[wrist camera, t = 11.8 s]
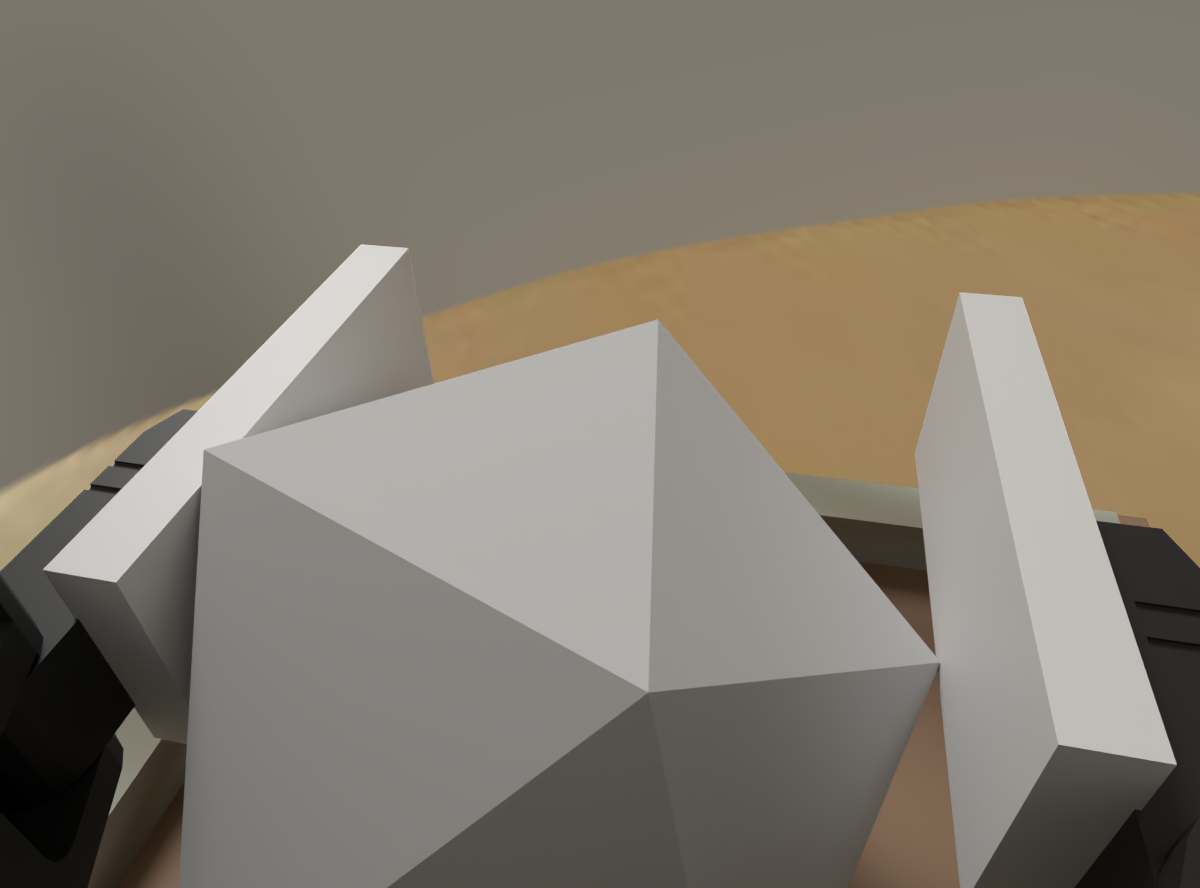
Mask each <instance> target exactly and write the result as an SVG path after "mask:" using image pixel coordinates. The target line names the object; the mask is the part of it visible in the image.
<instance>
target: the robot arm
mask: <svg viewBox="0 0 1200 888" xmlns="http://www.w3.org/2000/svg"><path fill="white" fill-rule="evenodd" d="M431 384H434V381H433V376H432V371H431V365H430V360H429V355H428V349H427V344H426V339H425V333H424V328H423V322H422V317H421V312H420V306H419V301H418V296H417V290H416V286H415V280H414V274H413V269H412V264H411V258H410V253H409V248H398V247H387V246H373V245H360V246H359V247H358V248H357V249H356V250H355V251H354V252H353V253H352V254H351V255H350V256H349V257H348V258H347V259H346V260H345V262H343V264H341V265H340V267H339V268H338V269H337V270H336V271H335V272H334V273H333V274H332V275H331V276H330V277H329V278H328V279H327V280H326V281H325V282H324V283H323V284H322V285H321V286H320V287H319V288H318V289H317V290H316V291H315V292H314V293H313V294H312V295H311V296H310V297H309V298H308V299H307V300H306V301H305V302H304V303H303V304H302V305H301V306H300V307H299V309H298V310H296V311H295V313H293V315H292V316H291V317H290V318H289V319H288V320H287V321H286V322H285V323H284V324H283V325H282V326H281V327H280V328H279V329H278V330H277V331H276V332H275V333H274V334H273V335H272V336H271V337H270V338H269V339H268V340H267V341H266V342H265V343H264V344H263V345H262V346H261V347H260V348H259V349H258V350H257V351H256V353H254V354H253V355H252V357H250V358H249V359H248V361H246V363H245V364H244V365H243V366H242V367H241V368H240V369H239V370H238V371H237V372H236V373H235V374H234V375H233V376H232V377H231V378H230V379H229V380H228V381H227V382H226V383H225V384H224V385H223V386H222V387H221V388H220V389H219V390H218V391H217V392H216V393H215V394H214V395H213V396H212V397H211V398H210V399H209V400H208V401H207V402H206V403H205V404H204V405H203V406H202V407H201V408H200V410H199V411H192V410H184V409H183V410H181V411H179V412H178V413H176V414H174V415H172V416H171V417H169V418H167V419H166V420H164V421H162V422H160V423H159V424H157V425H155V426H153V427H152V428H150V429H148V430H147V431H145V432H143V433H142V434H141V435H140V436H139V437H138V438H137V439H136V440H135V441H134V442H133V443H132V444H131V445H130V446H129V447H128V448H127V449H126V450H125V451H124V452H123V453H122V454H121V455H120V456H119V457H118V458H117V459H115V460H114V461H115V465H114V466H113V467H111V466H108V467H107V468H106V469H105V470H104V471H103V472H102V473H101V474H100V475H99V476H98V477H97V478H96V479H95V480H94V481H93V482H92V483H91V488H90V490H84V491H83V492H82V493H81V494H79V495H78V496H77V497H76V498H75V499H74V500H73V501H72V502H71V503H70V504H69V505H68V506H67V507H66V508H65V509H64V510H63V511H62V512H61V513H60V514H59V515H58V516H57V517H56V518H55V519H54V520H53V521H52V522H51V523H50V524H49V525H48V526H47V527H46V528H45V529H43V530H42V531H41V532H40V533H39V534H38V535H37V536H36V537H35V538H34V539H33V540H32V541H31V542H30V543H29V544H28V545H27V546H26V547H25V548H24V549H23V550H22V551H21V552H20V553H19V554H18V555H17V556H16V557H15V558H14V559H13V560H12V561H11V562H10V563H9V564H7V565H6V566H5V567H4V568H3V569H2V570H1V571H0V888H88V884H89V881H90V878H91V874H92V871H93V867H94V864H95V860H96V857H97V853H98V850H99V847H100V843H101V840H102V836H103V833H104V829H105V826H106V823H107V819H108V816H109V812H110V809H111V805H112V802H113V799H114V795H115V792H116V788H117V785H118V781H119V778H120V774H121V771H122V766H123V751H124V749H123V747H122V745H121V743H120V741H119V739H118V738H117V736H116V734H115V732H116V731H117V730H118V728H119V727H120V726H121V724H122V723H123V722H124V720H125V719H126V718H127V716H128V715H129V714H130V712H131V711H132V709H133V708H135V709H136V711H137V712H138V714H139V715H140V717H141V718H142V720H143V721H144V723H145V724H146V726H147V727H148V729H149V730H150V732H151V733H152V735H153V736H154V738H159V739H163V740H168V741H173V742H178V743H183V744H187V734H188V717H189V699H190V682H191V664H192V646H193V629H194V611H195V593H196V576H197V558H198V541H199V523H200V505H201V488H202V470H203V452H204V449H208V448H211V447H214V446H218V445H221V444H225V443H228V442H232V441H235V440H239V439H242V438H246V437H249V436H253V435H256V434H260V433H263V432H267V431H270V430H274V429H277V428H281V427H284V426H288V425H291V424H295V423H298V422H302V421H305V420H309V419H312V418H316V417H319V416H323V415H326V414H330V413H333V412H337V411H340V410H344V409H347V408H351V407H354V406H358V405H361V404H365V403H368V402H372V401H375V400H379V399H382V398H386V397H389V396H393V395H396V394H400V393H403V392H407V391H410V390H414V389H417V388H420V387H424V386H427V385H431ZM915 459H916V469H917V478H918V488H919V498H920V507H921V517H922V526H923V536H924V546H925V555H926V565H927V575H928V584H929V594H930V603H931V613H932V623H933V632H934V642H935V652H936V657H937V658H938V660H939V661H940V665H939V668H938V670H937V671H938V680H939V690H940V700H941V709H942V719H943V728H944V738H945V748H946V757H947V767H948V777H949V786H950V796H951V805H952V815H953V825H954V834H955V844H956V854H957V863H958V873H959V882H960V888H1200V568H1199V567H1198V566H1197V565H1196V564H1195V563H1194V562H1193V561H1192V560H1191V559H1190V557H1189V556H1188V555H1187V554H1186V553H1185V552H1184V551H1183V550H1182V549H1181V548H1180V547H1179V546H1178V545H1177V544H1176V543H1175V542H1174V541H1173V540H1172V539H1171V538H1170V537H1169V536H1168V535H1167V534H1166V533H1165V532H1164V531H1163V530H1162V529H1158V528H1150V527H1142V526H1134V525H1126V524H1118V523H1110V522H1102V521H1096V519H1095V516H1094V513H1093V510H1092V507H1091V504H1090V501H1089V498H1088V495H1087V492H1086V489H1085V486H1084V483H1083V480H1082V477H1081V474H1080V471H1079V468H1078V465H1077V462H1076V459H1075V456H1074V453H1073V450H1072V447H1071V444H1070V441H1069V438H1068V435H1067V432H1066V428H1065V425H1064V422H1063V419H1062V416H1061V413H1060V410H1059V407H1058V404H1057V401H1056V398H1055V395H1054V392H1053V389H1052V386H1051V383H1050V380H1049V377H1048V374H1047V371H1046V368H1045V365H1044V362H1043V359H1042V356H1041V353H1040V350H1039V347H1038V344H1037V341H1036V338H1035V335H1034V332H1033V329H1032V326H1031V323H1030V320H1029V317H1028V314H1027V311H1026V308H1025V305H1024V302H1023V299H1022V297H1011V296H999V295H986V294H974V293H961V292H960V293H959V297H958V300H957V304H956V307H955V311H954V315H953V318H952V322H951V325H950V329H949V333H948V336H947V340H946V343H945V347H944V351H943V354H942V358H941V361H940V365H939V368H938V372H937V376H936V379H935V383H934V386H933V390H932V394H931V397H930V401H929V404H928V408H927V412H926V415H925V419H924V422H923V426H922V429H921V433H920V437H919V440H918V444H917V447H916V451H915Z"/></svg>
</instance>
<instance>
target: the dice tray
mask: <svg viewBox="0 0 1200 888" xmlns="http://www.w3.org/2000/svg"><path fill="white" fill-rule="evenodd" d="M785 474H786V475H787V476H788V478H789V479H790V480H791V481H792V482H793V484H794V485H795V486H796V487H797V488H798V490H799V491H800V492H801V493H802V495H803V496H804V497H805V498H806V499H807V501H808V502H809V503H810V504H811V505H812V507H813V508H814V509H815V510H816V512H817V513H818V514H819V515H820V516H821V518H822V519H823V520H824V521H825V522H826V524H827V525H828V526H829V527H830V529H831V530H832V531H833V532H834V533H835V535H836V536H837V537H838V538H839V539H840V541H841V542H842V543H843V544H844V546H845V547H846V548H847V549H848V550H849V552H850V553H851V554H852V555H853V556H854V558H855V559H856V560H857V561H858V563H859V564H860V565H861V566H862V567H863V569H864V570H865V571H866V572H867V573H868V575H869V576H870V577H871V578H872V580H873V581H874V582H875V583H876V584H877V586H878V587H879V588H880V589H881V590H882V592H883V593H884V594H885V595H886V597H887V598H888V599H889V600H890V601H891V603H892V604H893V605H894V606H895V607H896V609H897V610H898V611H899V612H900V613H901V615H902V616H903V617H904V618H905V620H906V621H907V622H908V623H909V624H910V626H911V627H912V628H913V629H914V630H915V632H916V633H917V634H918V635H919V637H920V638H921V639H922V640H923V641H924V643H925V644H926V645H927V646H928V647H929V649H930V650H931V651H932V652H933V654H934V655H935V656H936V652H935V642H934V632H933V623H932V613H931V603H930V594H929V584H928V575H927V565H926V555H925V546H924V536H923V526H922V517H921V507H920V498H919V489H918V488H910V487H902V486H893V485H885V484H876V483H868V482H860V481H851V480H843V479H835V478H826V477H818V476H809V475H801V474H793V473H785ZM1092 510H1093V513H1094V516H1095V519H1096V521H1102V522H1110V523H1118V524H1126V525H1134V526H1142V527H1149V525H1148V522H1147V519H1146V518H1137V517H1129V516H1121V515H1117V513H1116V512H1111V511H1103V510H1095V509H1092ZM115 734H116V736H117V738H118V739H119V741H120V743H121V745H122V747H123V749H124V751H123V766H122V771H121V774H120V778H119V781H118V785H117V788H116V792H115V795H114V799H113V802H112V805H111V809H110V812H109V816H108V819H107V823H106V826H105V829H104V833H103V836H102V840H101V843H100V847H99V850H98V853H97V857H96V860H95V864H94V867H93V871H92V874H91V878H90V881H89V884H88V888H179V875H180V858H181V840H182V823H183V805H184V787H185V770H186V752H187V744H183V743H178V742H173V741H168V740H163V739H159V738H154V736H153V735H152V733H151V732H150V730H149V729H148V727H147V726H146V724H145V723H144V721H143V720H142V718H141V717H140V715H139V714H138V712H137V711H136V709H135V708H133V709H132V711H131V712H130V714H129V715H128V716H127V718H126V719H125V720H124V722H123V723H122V724H121V726H120V727H119V728H118V730H117V731H116V732H115ZM848 888H960V882H959V873H958V863H957V854H956V844H955V834H954V825H953V815H952V805H951V796H950V786H949V777H948V767H947V757H946V748H945V738H944V728H943V719H942V709H941V700H940V690H939V680H938V671H937V673H936V675H935V677H934V680H933V682H932V685H931V687H930V690H929V692H928V694H927V697H926V699H925V702H924V704H923V706H922V709H921V711H920V714H919V716H918V719H917V721H916V723H915V726H914V728H913V731H912V733H911V736H910V738H909V740H908V743H907V745H906V748H905V750H904V753H903V755H902V757H901V760H900V762H899V765H898V767H897V770H896V772H895V774H894V777H893V779H892V782H891V784H890V787H889V789H888V791H887V794H886V796H885V799H884V801H883V804H882V806H881V808H880V811H879V813H878V816H877V818H876V821H875V823H874V825H873V828H872V830H871V833H870V835H869V838H868V840H867V842H866V845H865V847H864V850H863V852H862V855H861V857H860V859H859V862H858V864H857V867H856V869H855V871H854V874H853V876H852V879H851V881H850V884H849V886H848Z"/></svg>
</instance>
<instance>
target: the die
mask: <svg viewBox="0 0 1200 888" xmlns="http://www.w3.org/2000/svg"><path fill="white" fill-rule="evenodd" d="M939 665H940V661H939V660H938V658H937V657H936V656H935V655H934V654H933V652H932V651H931V650H930V649H929V647H928V646H927V645H926V644H925V643H924V641H923V640H922V639H921V638H920V637H919V635H918V634H917V633H916V632H915V630H914V629H913V628H912V627H911V626H910V624H909V623H908V622H907V621H906V620H905V618H904V617H903V616H902V615H901V613H900V612H899V611H898V610H897V609H896V607H895V606H894V605H893V604H892V603H891V601H890V600H889V599H888V598H887V597H886V595H885V594H884V593H883V592H882V590H881V589H880V588H879V587H878V586H877V584H876V583H875V582H874V581H873V580H872V578H871V577H870V576H869V575H868V573H867V572H866V571H865V570H864V569H863V567H862V566H861V565H860V564H859V563H858V561H857V560H856V559H855V558H854V556H853V555H852V554H851V553H850V552H849V550H848V549H847V548H846V547H845V546H844V544H843V543H842V542H841V541H840V539H839V538H838V537H837V536H836V535H835V533H834V532H833V531H832V530H831V529H830V527H829V526H828V525H827V524H826V522H825V521H824V520H823V519H822V518H821V516H820V515H819V514H818V513H817V512H816V510H815V509H814V508H813V507H812V505H811V504H810V503H809V502H808V501H807V499H806V498H805V497H804V496H803V495H802V493H801V492H800V491H799V490H798V488H797V487H796V486H795V485H794V484H793V482H792V481H791V480H790V479H789V478H788V476H787V475H786V474H785V473H784V472H783V470H782V469H781V468H780V467H779V465H778V464H777V463H776V462H775V461H774V459H773V458H772V457H771V456H770V455H769V453H768V452H767V451H766V450H765V448H764V447H763V446H762V445H761V444H760V442H759V441H758V440H757V439H756V438H755V436H754V435H753V434H752V433H751V431H750V430H749V429H748V428H747V427H746V425H745V424H744V423H743V422H742V421H741V419H740V418H739V417H738V416H737V414H736V413H735V412H734V411H733V410H732V408H731V407H730V406H729V405H728V404H727V402H726V401H725V400H724V399H723V397H722V396H721V395H720V394H719V393H718V391H717V390H716V389H715V388H714V387H713V385H712V384H711V383H710V382H709V380H708V379H707V378H706V377H705V376H704V374H703V373H702V372H701V371H700V370H699V368H698V367H697V366H696V365H695V363H694V362H693V361H692V360H691V359H690V357H689V356H688V355H687V354H686V353H685V351H684V350H683V349H682V348H681V346H680V345H679V344H678V343H677V342H676V340H675V339H674V338H673V337H672V336H671V334H670V333H669V332H668V331H667V330H666V328H665V327H664V326H663V325H662V323H661V322H660V321H659V320H654V321H651V322H647V323H644V324H640V325H637V326H633V327H630V328H627V329H623V330H620V331H616V332H613V333H609V334H606V335H602V336H599V337H595V338H592V339H588V340H585V341H581V342H578V343H574V344H571V345H567V346H564V347H560V348H557V349H553V350H550V351H546V352H543V353H539V354H536V355H532V356H529V357H525V358H522V359H518V360H515V361H511V362H508V363H504V364H501V365H497V366H494V367H490V368H487V369H483V370H480V371H476V372H473V373H469V374H466V375H462V376H459V377H455V378H452V379H448V380H445V381H441V382H438V383H434V384H431V385H427V386H424V387H420V388H417V389H414V390H410V391H407V392H403V393H400V394H396V395H393V396H389V397H386V398H382V399H379V400H375V401H372V402H368V403H365V404H361V405H358V406H354V407H351V408H347V409H344V410H340V411H337V412H333V413H330V414H326V415H323V416H319V417H316V418H312V419H309V420H305V421H302V422H298V423H295V424H291V425H288V426H284V427H281V428H277V429H274V430H270V431H267V432H263V433H260V434H256V435H253V436H249V437H246V438H242V439H239V440H235V441H232V442H228V443H225V444H221V445H218V446H214V447H211V448H208V449H204V452H203V470H202V488H201V505H200V523H199V541H198V558H197V576H196V593H195V611H194V629H193V646H192V664H191V682H190V699H189V717H188V734H187V752H186V770H185V787H184V805H183V823H182V840H181V858H180V875H179V888H848V886H849V884H850V881H851V879H852V876H853V874H854V871H855V869H856V867H857V864H858V862H859V859H860V857H861V855H862V852H863V850H864V847H865V845H866V842H867V840H868V838H869V835H870V833H871V830H872V828H873V825H874V823H875V821H876V818H877V816H878V813H879V811H880V808H881V806H882V804H883V801H884V799H885V796H886V794H887V791H888V789H889V787H890V784H891V782H892V779H893V777H894V774H895V772H896V770H897V767H898V765H899V762H900V760H901V757H902V755H903V753H904V750H905V748H906V745H907V743H908V740H909V738H910V736H911V733H912V731H913V728H914V726H915V723H916V721H917V719H918V716H919V714H920V711H921V709H922V706H923V704H924V702H925V699H926V697H927V694H928V692H929V690H930V687H931V685H932V682H933V680H934V677H935V675H936V673H937V670H938V668H939Z"/></svg>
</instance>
